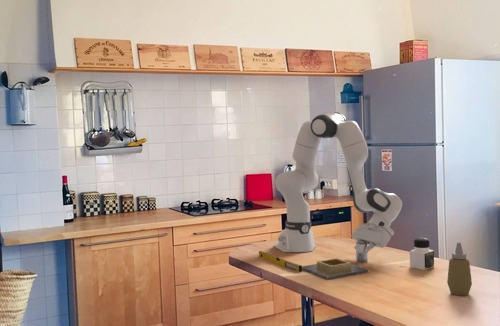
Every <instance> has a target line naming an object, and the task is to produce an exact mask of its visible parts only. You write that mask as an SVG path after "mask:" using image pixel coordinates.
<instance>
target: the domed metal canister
mask: <svg viewBox="0 0 500 326" xmlns="http://www.w3.org/2000/svg"><path fill="white" fill-rule="evenodd" d="M356 242H357V243H355V246H356V249H355V253H356V254H355V256H356V257H355V260H356V261H357V262H356V263H359V262H361V263H360V264H364V263H363V262H365V263H368V262H367V261H368V260H369V259H368V253H366V252H364V251H363V249H364V248H365V247H367V246H368V244H367V243H366V241H364V240H359V241H356Z"/></svg>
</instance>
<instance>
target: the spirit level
mask: <svg viewBox="0 0 500 326" xmlns="http://www.w3.org/2000/svg"><path fill="white" fill-rule="evenodd" d="M258 254H259V255H258V258H261V259H263V260H266V261H269V262H271V263H274V264H276V265H279V266H282V267H284V268H287V269H290V270H293V271H294V272H297V273H298V272H299V273H302V272H303V270H302V266H303V265H301V264H297V263H295V262H292V261H289V260H287V259H284V258H279V257H278V256H275V255H272V254H270V253H266V252H264V251H261V250H259V251H258Z"/></svg>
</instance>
